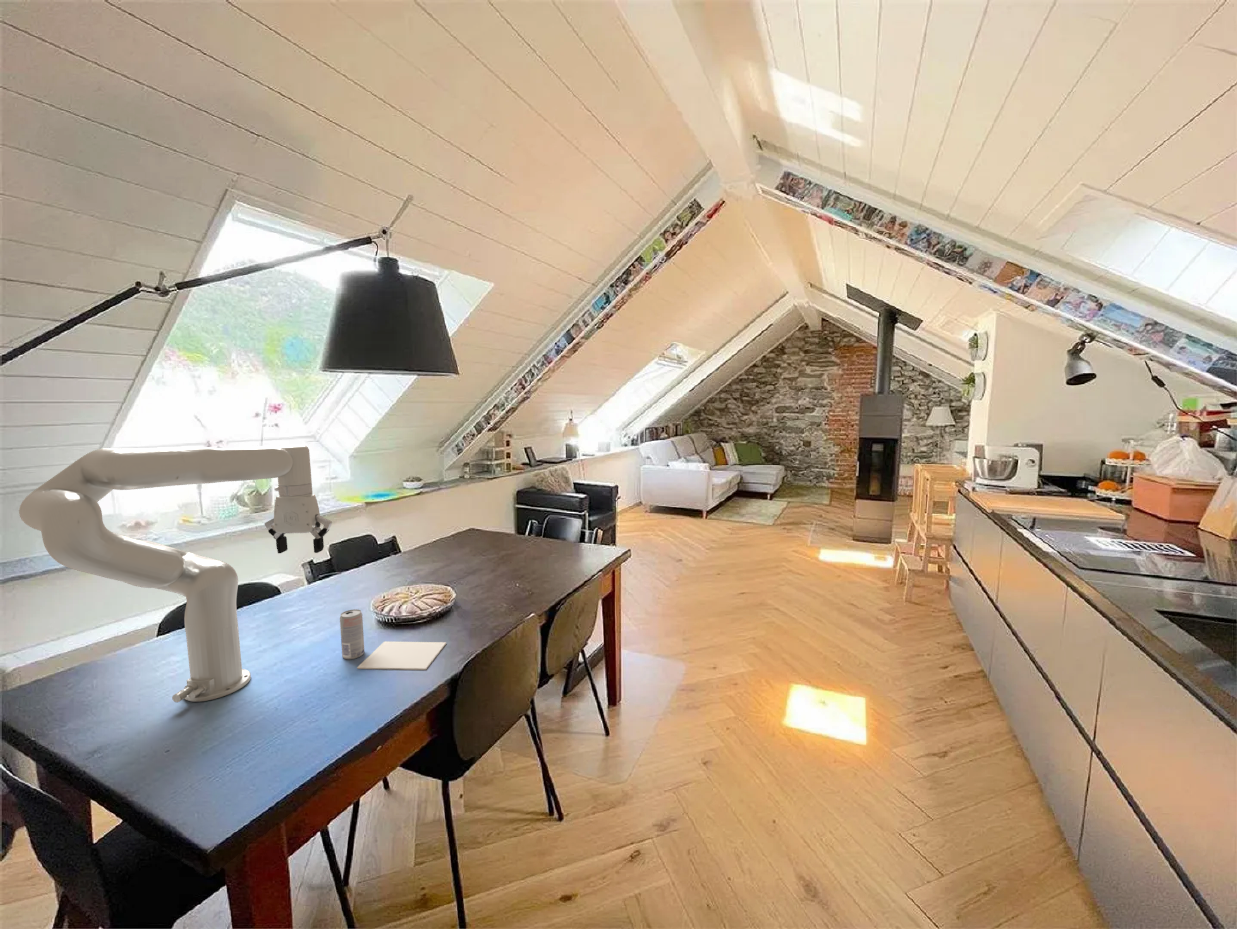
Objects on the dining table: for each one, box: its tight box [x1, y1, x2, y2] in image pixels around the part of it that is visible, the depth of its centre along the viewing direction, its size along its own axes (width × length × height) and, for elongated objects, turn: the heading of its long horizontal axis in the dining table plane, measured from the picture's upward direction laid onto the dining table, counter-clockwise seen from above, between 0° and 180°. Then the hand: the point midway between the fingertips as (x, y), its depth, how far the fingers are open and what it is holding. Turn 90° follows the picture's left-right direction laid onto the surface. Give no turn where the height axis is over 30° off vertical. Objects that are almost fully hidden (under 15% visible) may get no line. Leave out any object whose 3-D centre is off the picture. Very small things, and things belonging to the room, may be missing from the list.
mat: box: [356, 640, 447, 671], centre depth 132 cm, size 14×18×1 cm
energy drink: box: [339, 608, 365, 660], centre depth 131 cm, size 5×5×12 cm
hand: (300, 551), depth 132 cm, fingers open, 9 cm apart
